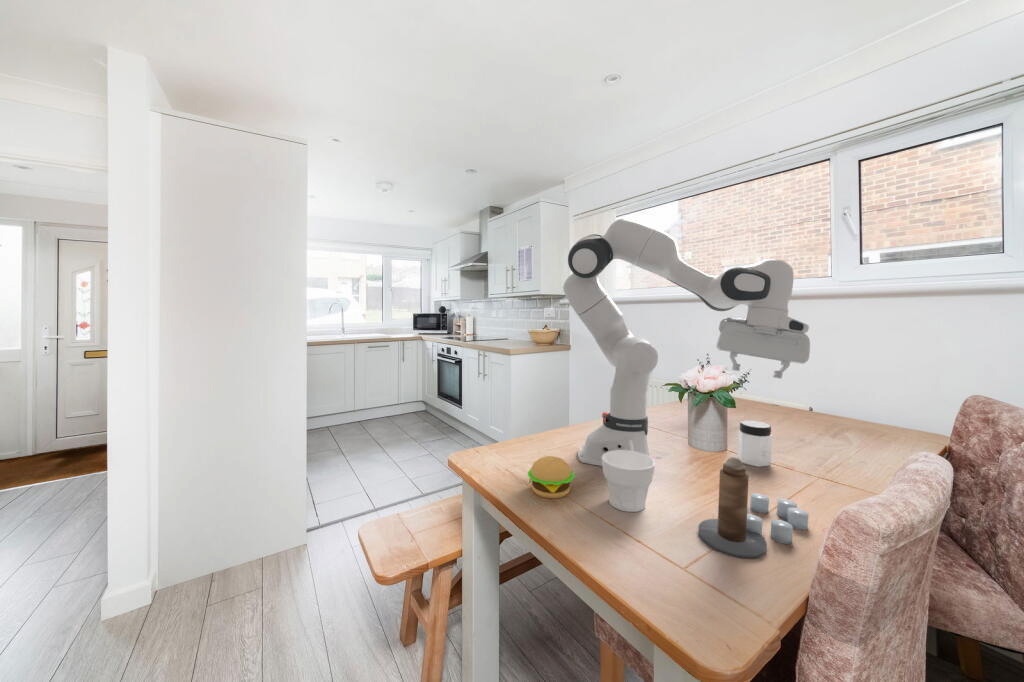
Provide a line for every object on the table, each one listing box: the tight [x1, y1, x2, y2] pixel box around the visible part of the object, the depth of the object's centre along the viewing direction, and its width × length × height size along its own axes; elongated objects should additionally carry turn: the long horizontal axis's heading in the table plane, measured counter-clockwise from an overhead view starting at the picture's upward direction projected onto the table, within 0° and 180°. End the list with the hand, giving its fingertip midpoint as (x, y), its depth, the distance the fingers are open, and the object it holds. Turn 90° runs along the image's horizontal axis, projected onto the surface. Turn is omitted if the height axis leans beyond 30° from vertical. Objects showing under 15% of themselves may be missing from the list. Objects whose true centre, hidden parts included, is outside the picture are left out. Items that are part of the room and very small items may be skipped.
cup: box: [601, 450, 656, 513], centre depth 91 cm, size 12×12×11 cm
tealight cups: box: [746, 492, 809, 545], centre depth 83 cm, size 15×16×3 cm
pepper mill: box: [717, 456, 750, 542], centre depth 76 cm, size 5×5×16 cm
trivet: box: [697, 518, 768, 559], centre depth 77 cm, size 12×12×1 cm
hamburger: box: [527, 455, 575, 499], centre depth 98 cm, size 12×12×9 cm
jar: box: [736, 419, 773, 468], centre depth 117 cm, size 9×8×12 cm
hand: (756, 374), depth 98 cm, fingers open, 8 cm apart
